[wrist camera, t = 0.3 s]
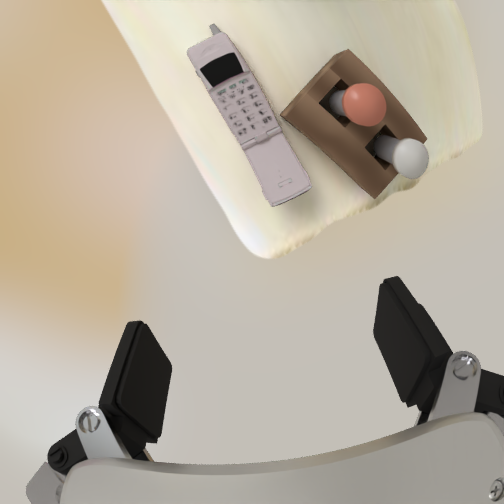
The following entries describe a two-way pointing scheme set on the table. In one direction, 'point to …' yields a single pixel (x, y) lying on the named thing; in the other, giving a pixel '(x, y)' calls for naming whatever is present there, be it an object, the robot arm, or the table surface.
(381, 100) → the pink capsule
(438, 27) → the table surface
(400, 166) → the white light bulb
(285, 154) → the mobile phone
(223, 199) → the table surface
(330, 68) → the block
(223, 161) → the table surface
